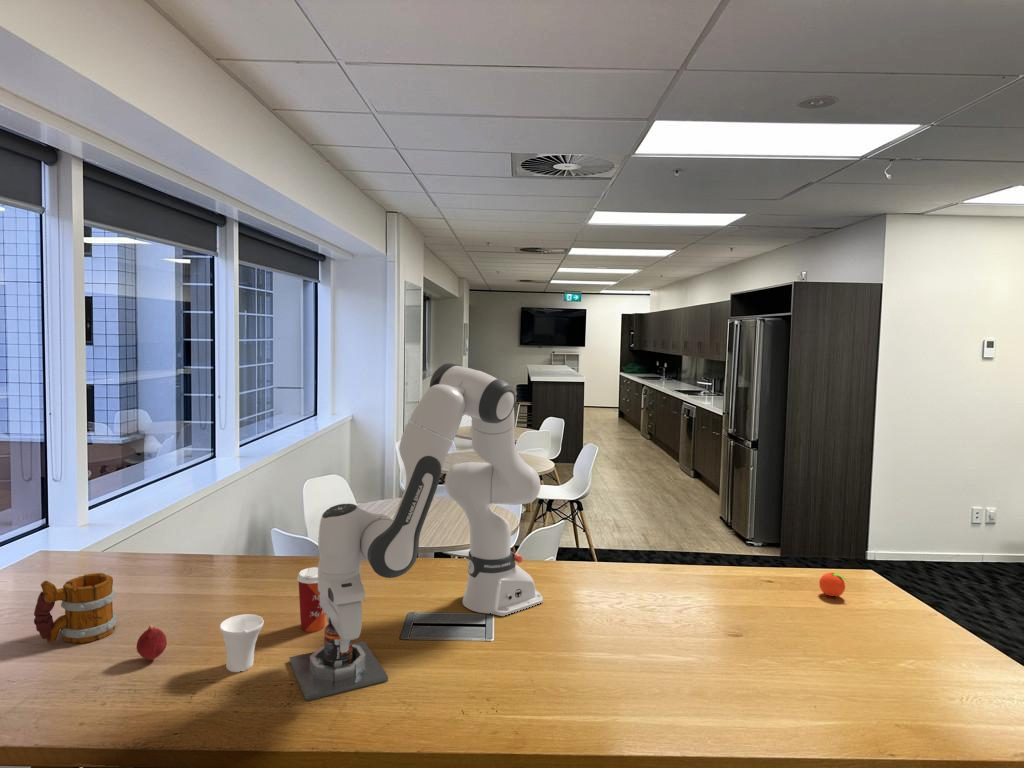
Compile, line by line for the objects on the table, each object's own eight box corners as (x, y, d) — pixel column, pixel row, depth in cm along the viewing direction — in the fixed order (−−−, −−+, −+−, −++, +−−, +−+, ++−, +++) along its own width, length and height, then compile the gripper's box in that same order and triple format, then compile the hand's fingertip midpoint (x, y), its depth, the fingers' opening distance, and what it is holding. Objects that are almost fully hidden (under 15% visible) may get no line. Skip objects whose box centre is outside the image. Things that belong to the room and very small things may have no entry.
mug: (124, 633, 154) (123, 572, 153) (40, 657, 142) (38, 591, 141) (110, 618, 162) (108, 559, 160) (29, 640, 150) (27, 576, 148)
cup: (221, 681, 136) (221, 635, 135) (218, 660, 144) (218, 616, 143) (266, 672, 140) (266, 627, 139) (261, 652, 148) (261, 609, 147)
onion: (173, 656, 145) (172, 622, 144) (151, 669, 139) (150, 633, 139) (153, 651, 147) (152, 617, 146) (130, 663, 141) (130, 628, 141)
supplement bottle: (345, 675, 138) (345, 623, 137) (319, 671, 139) (319, 620, 138) (357, 661, 144) (357, 611, 143) (332, 657, 145) (331, 608, 144)
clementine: (849, 596, 194) (851, 573, 193) (847, 604, 188) (849, 580, 187) (820, 589, 198) (821, 566, 197) (816, 597, 192) (818, 573, 191)
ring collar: (364, 645, 153) (364, 631, 153) (388, 680, 138) (388, 665, 138) (289, 661, 145) (289, 646, 144) (306, 701, 130) (306, 684, 130)
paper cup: (319, 635, 157) (320, 579, 156) (290, 631, 158) (291, 576, 157) (334, 621, 164) (335, 568, 163) (306, 617, 166) (307, 564, 165)
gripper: (312, 566, 147) (312, 624, 148) (336, 601, 129) (335, 667, 131) (340, 561, 150) (340, 619, 152) (367, 595, 133) (366, 660, 134)
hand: (338, 641), depth 141 cm, fingers open, 7 cm apart
